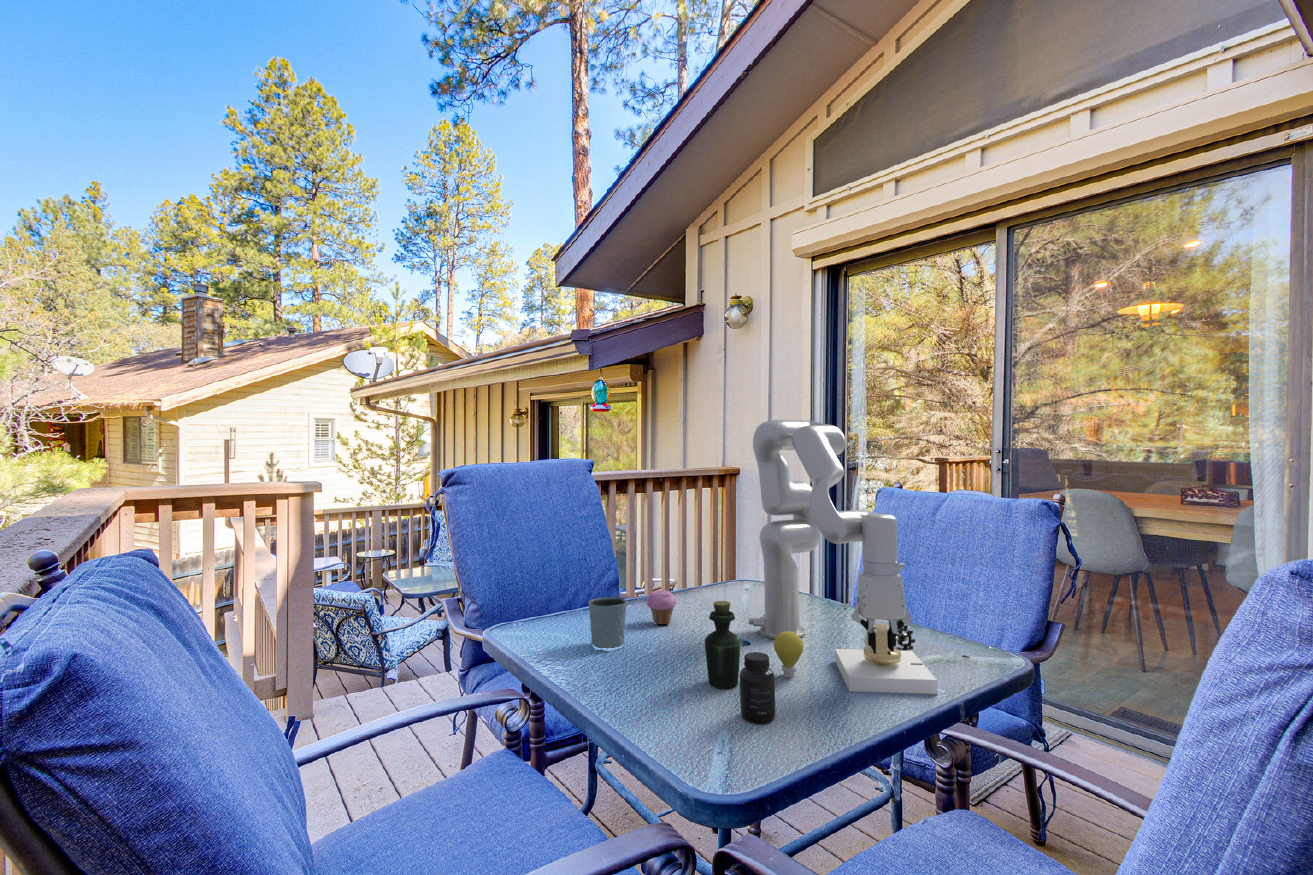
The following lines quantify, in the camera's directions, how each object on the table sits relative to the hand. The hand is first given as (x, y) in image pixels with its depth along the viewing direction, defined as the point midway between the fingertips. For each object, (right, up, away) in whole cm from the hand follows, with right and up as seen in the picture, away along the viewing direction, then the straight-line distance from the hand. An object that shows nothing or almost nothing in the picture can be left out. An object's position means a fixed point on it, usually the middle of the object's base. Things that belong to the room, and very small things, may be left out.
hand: (881, 648), depth 137 cm
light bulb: (-21, -7, +2) cm, 22 cm away
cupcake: (-50, -8, +44) cm, 67 cm away
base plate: (0, -6, 0) cm, 6 cm away
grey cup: (-64, -8, +24) cm, 69 cm away
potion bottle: (-36, -7, -3) cm, 37 cm away
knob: (0, -3, +1) cm, 3 cm away
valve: (+7, -7, +16) cm, 19 cm away
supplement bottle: (-32, -7, -19) cm, 38 cm away
